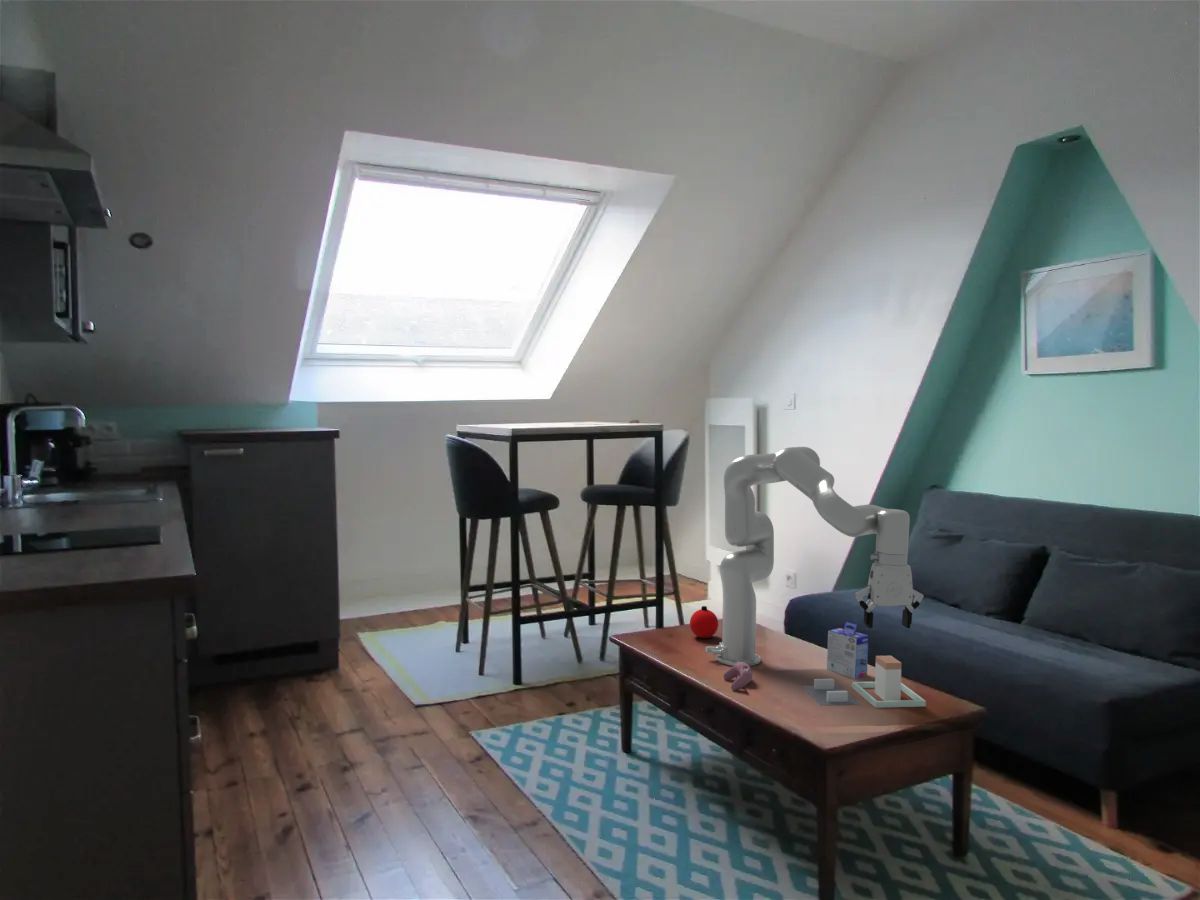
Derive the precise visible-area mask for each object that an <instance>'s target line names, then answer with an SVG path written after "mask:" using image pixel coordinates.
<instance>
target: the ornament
mask: <svg viewBox="0 0 1200 900" xmlns="http://www.w3.org/2000/svg"><path fill="white" fill-rule="evenodd" d="M689 627H690V629H691V632H692V633H693V635H695V636H696V637H697V638H700V639H701V638H702V639H708V638H711V637H712V636H714V635H715V634H716V633H717V631H718V628H719V620H718V617H717V615H716V614H715V613H714V612H713V611H711V610H709V609H708V606H707V605H703V606H701V609H700V608H699V609H698V610H696V611H695V612H693V613H692V615H691V616H690V619H689Z"/></svg>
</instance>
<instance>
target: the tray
mask: <svg viewBox="0 0 1200 900" xmlns="http://www.w3.org/2000/svg"><path fill="white" fill-rule="evenodd" d="M851 688H852V689H854V691H856V692H857V693H858V694H860V696H861V697H862V698H864V699H865V701H867V702H868V703H869V704H871V706H873V707H874V708H902V707H903V708H905V707H906V708H910V707H912V708H914V707H918V708H920V707H925V708H926V706H927V704H926V703H927V701H926V700H925V699H924V698H922V696H920V695H919V694H917V693H916V692H915V691H914V690H912V689H911V688H910V687H908V686H906V685H905V684H904V683H903V682H901V691H902V692H903V693H904V694H906V695H907V696H908V697H910V698H911V699H908V700H907V699H900V700H892V701H884V700H877V699H876V698H875V697H873V696H872V695H871V694H870V693H869V692H867V691H866V690H865V689H872V688H873V689H875V681H852V682H851Z"/></svg>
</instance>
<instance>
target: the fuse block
mask: <svg viewBox="0 0 1200 900" xmlns="http://www.w3.org/2000/svg"><path fill="white" fill-rule="evenodd" d="M801 687H802V688H803V689H804V690H805V691H806V692H807V693H808V694H809V695H810V696H811V697H812V698H813V699H814V700H815V701H816V702H817V703H818V704H819V706H851V705H857V706H858V705H861V703H860V702H859V701H858V700H857V699H856V698H855V697H853V696H852V695H851V694H850V693H849V691H848V690H846V689H844V688H843V687H842V686H841V685H840V684H835V679H834V678H814V679H813V685H802V686H801Z"/></svg>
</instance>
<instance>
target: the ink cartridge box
mask: <svg viewBox="0 0 1200 900" xmlns="http://www.w3.org/2000/svg"><path fill="white" fill-rule="evenodd" d="M848 626H851V627H852V628H853V629H852V628H850V627H848ZM857 626H858V624H855V623H852V622H848V621H846V622H845V624H844V627H843V628H840V627H838V628H833V629H829V630H828V631H827V632H828V633H827V654H826V655H827V657H826V670H827V671H830V672H832V673H835V674H839V675H842V676H845V677H848V678H850V679H855V680H856V679H860V678H864V677H867V676H868V659H869V658H868V656H869V654H868V653H869V635H868V634H865V633H860V632H856V631H857V628H858V627H857Z"/></svg>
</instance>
